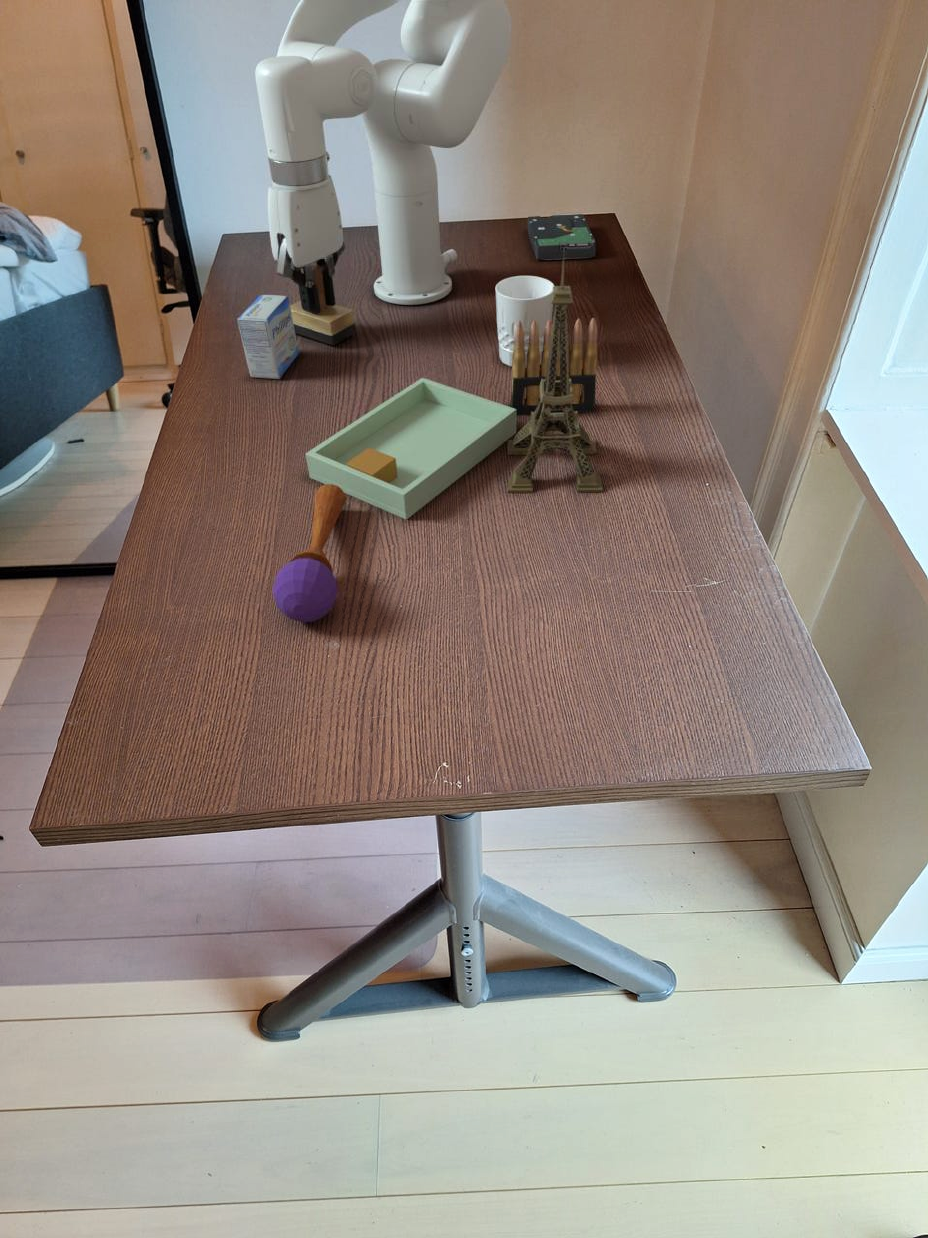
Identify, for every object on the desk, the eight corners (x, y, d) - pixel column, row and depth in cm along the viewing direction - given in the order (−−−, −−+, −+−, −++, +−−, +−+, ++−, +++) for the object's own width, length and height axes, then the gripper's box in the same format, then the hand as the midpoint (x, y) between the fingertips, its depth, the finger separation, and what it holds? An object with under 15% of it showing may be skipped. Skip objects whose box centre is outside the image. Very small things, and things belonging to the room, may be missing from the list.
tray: (423, 400, 112) (422, 377, 109) (516, 432, 105) (516, 408, 103) (309, 477, 99) (305, 453, 97) (406, 519, 93) (404, 494, 91)
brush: (311, 318, 130) (301, 255, 123) (356, 332, 126) (348, 267, 119) (288, 331, 127) (277, 266, 120) (333, 345, 123) (324, 279, 116)
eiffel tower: (507, 442, 104) (509, 228, 86) (594, 441, 103) (613, 226, 86) (508, 492, 96) (510, 269, 79) (602, 492, 95) (624, 267, 78)
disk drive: (525, 232, 156) (536, 261, 145) (526, 216, 154) (537, 244, 143) (581, 229, 156) (596, 258, 145) (582, 212, 154) (598, 241, 143)
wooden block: (371, 465, 99) (368, 447, 98) (397, 476, 98) (395, 457, 96) (348, 482, 97) (345, 463, 95) (375, 493, 95) (372, 474, 93)
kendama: (360, 477, 92) (334, 588, 76) (355, 523, 96) (330, 638, 80) (304, 469, 91) (267, 579, 76) (302, 516, 95) (266, 630, 79)
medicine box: (279, 380, 117) (267, 319, 111) (249, 378, 118) (236, 317, 112) (299, 354, 122) (289, 294, 116) (270, 352, 123) (259, 293, 117)
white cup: (559, 350, 121) (563, 280, 114) (539, 375, 116) (542, 302, 109) (508, 341, 123) (509, 271, 117) (486, 364, 118) (485, 293, 111)
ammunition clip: (592, 404, 110) (600, 313, 101) (594, 411, 108) (602, 320, 100) (509, 407, 110) (510, 317, 101) (511, 415, 108) (512, 324, 100)
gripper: (320, 150, 118) (337, 283, 130) (233, 181, 108) (260, 321, 121) (361, 158, 114) (374, 294, 127) (275, 190, 105) (298, 333, 117)
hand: (318, 306), depth 124 cm, fingers closed on brush, 2 cm apart
